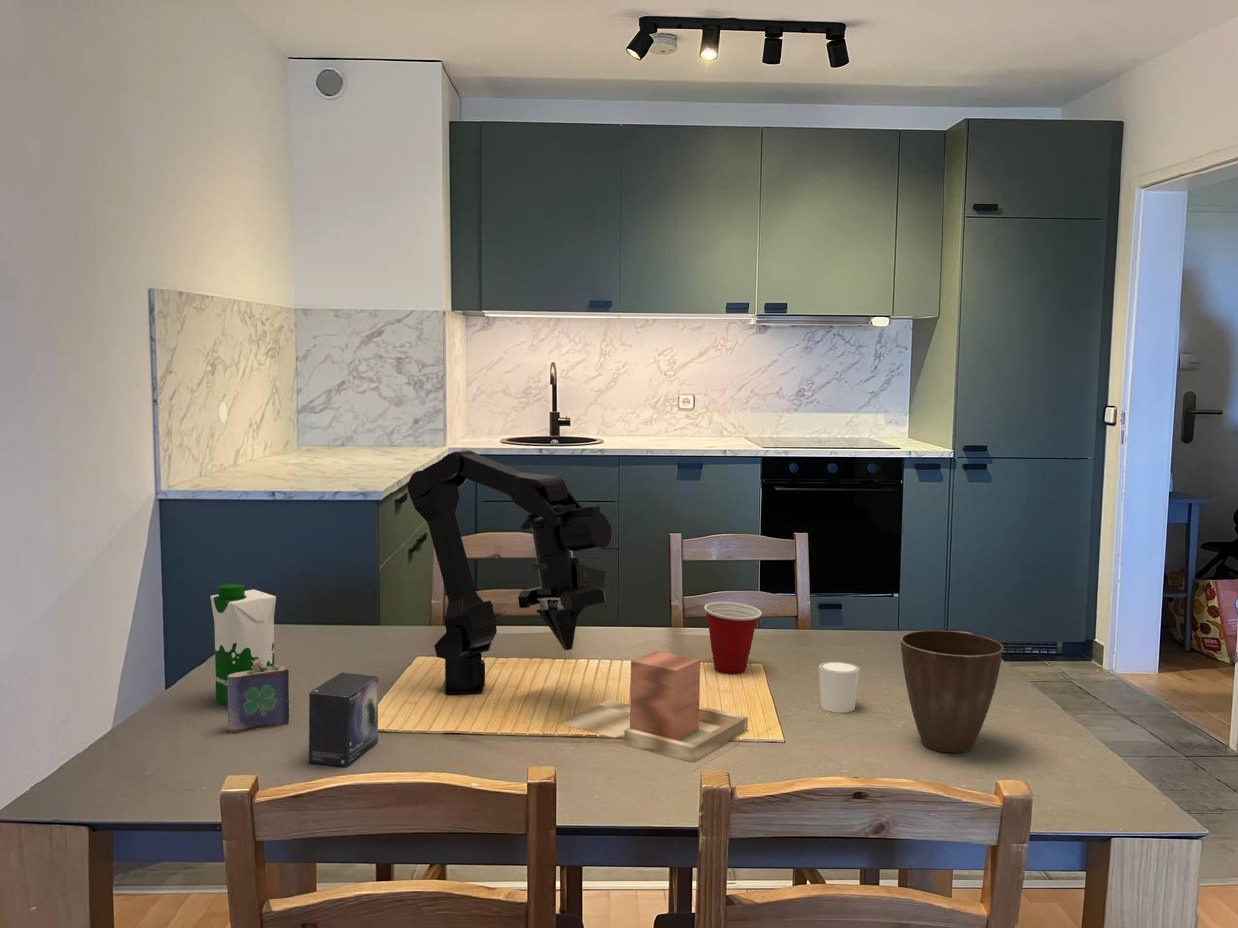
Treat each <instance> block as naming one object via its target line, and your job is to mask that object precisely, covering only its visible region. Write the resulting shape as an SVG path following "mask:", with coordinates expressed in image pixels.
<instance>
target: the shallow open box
mask: <svg viewBox="0 0 1238 928" xmlns="http://www.w3.org/2000/svg"><path fill="white" fill-rule="evenodd" d="M748 723H749V717H748V716H744V715H740V714H737V713H732V712H727V711H723V710H719V709H715V708H710V707H705V706H703V705H702V706H701V705H699V730H698V731H696V732H694V733H692V734H690V735H689V736H687V737H685V738H683V739H681V740H679V741H677V740H673V739H669V738H665V737H661V736H657V735H653V734H649V733H645V732H642V731H638V730H634V729H630V703H624V702H620V701H615V700H613V699H607V700H605V701H604V702H601V703H598V704H596V705H594V706H592V707H590V708H588V709H584V710H582V711H581V712H578V713H576V714H574V715H572V716H569V717H567V718H564V719H563V720H560V721H557V723H556V724H561V725H564V726H567V727H571V728H575V729H579V730H583V731H586V732H587V731H588V732H590V733H593V734H599V735H601V736H606V737H609V738H613V739H616V738H619V737H620V736H622V735H623V736H624V737H623V739H624V740H623V745H627V746H630V747H634V748H638V749H641V750H646V751H650V752H653V753H657V754H660V755H664V756H668V757H672V758H675V759H679V760H683V761H687V762H690V763H693V762H695V761H697V760H698V759H701V758H702V757H704V756H706V755H707V754H709V753H710V752H713V751H714V750H715V749H718V748H719V747H721V746H722V745H724V744H726V743H727V742H729V741H731V740H733V739H735V738H736V737H738V736H739V735H742V734H743V733H745V732H747V731H748V730H749V729H748V728H749V727H748V726H749V725H748ZM736 746H738V744H736V745H735V747H736ZM732 749H733V747H731V748H730V750H732ZM727 752H728V750H727V751H725V753H727ZM721 755H723V753H722V754H720V756H721ZM717 758H718V756H716V757H715V759H717ZM712 761H713V759H711V760H710V761H709V760H708V762H707V763H704V764H703V765H701V766H699V768H701V767H703V766H705V765H706V764H708V763H709V762H712ZM699 768H698V769H699ZM695 771H696V769H694V770H693V772H695Z"/></svg>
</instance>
